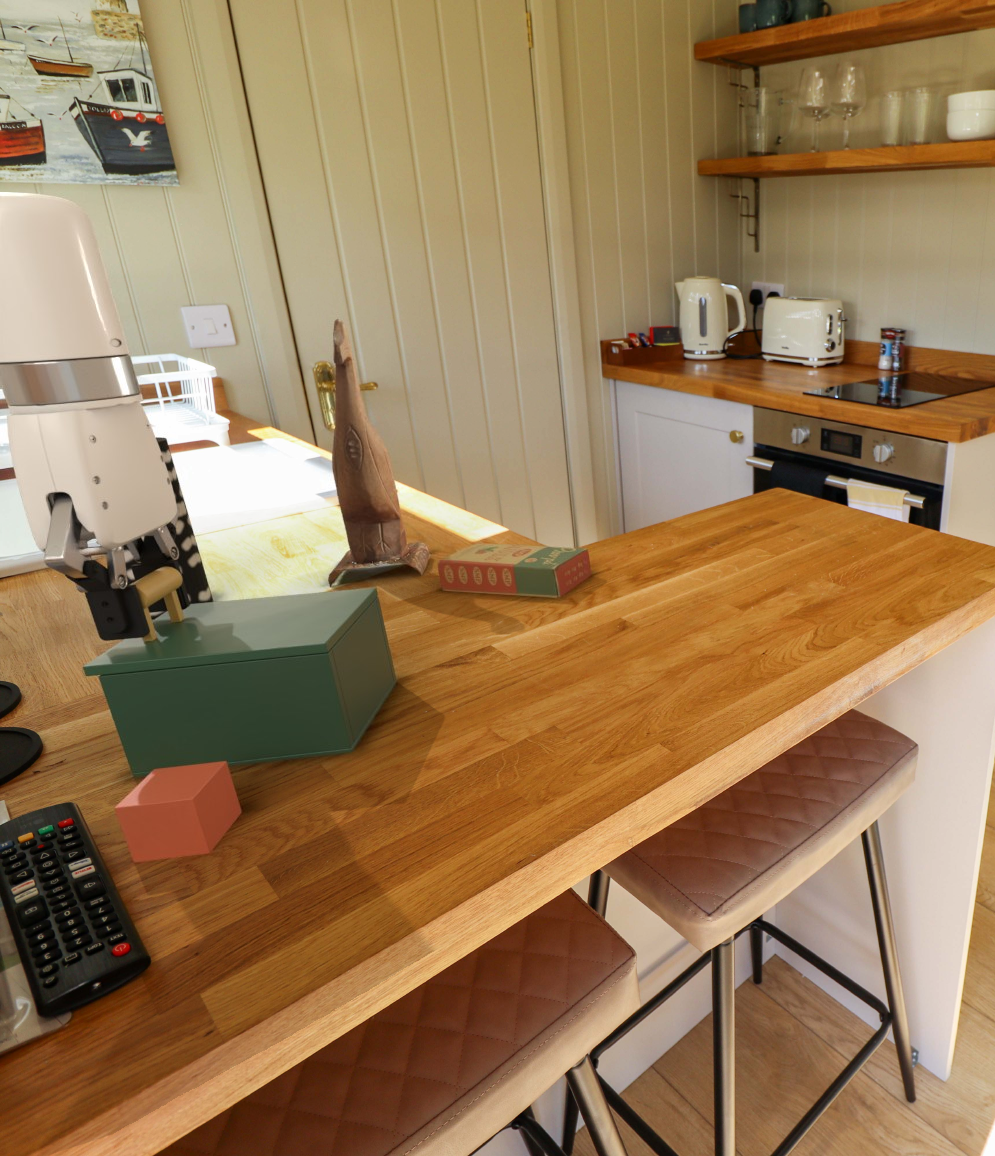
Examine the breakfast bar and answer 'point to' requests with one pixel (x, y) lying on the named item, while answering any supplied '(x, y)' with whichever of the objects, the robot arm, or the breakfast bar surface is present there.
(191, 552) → the white-spotted black cylinder
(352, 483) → the bird sculpture
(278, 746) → the chest
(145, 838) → the block
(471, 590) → the carton
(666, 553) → the breakfast bar surface
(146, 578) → the chest lid
